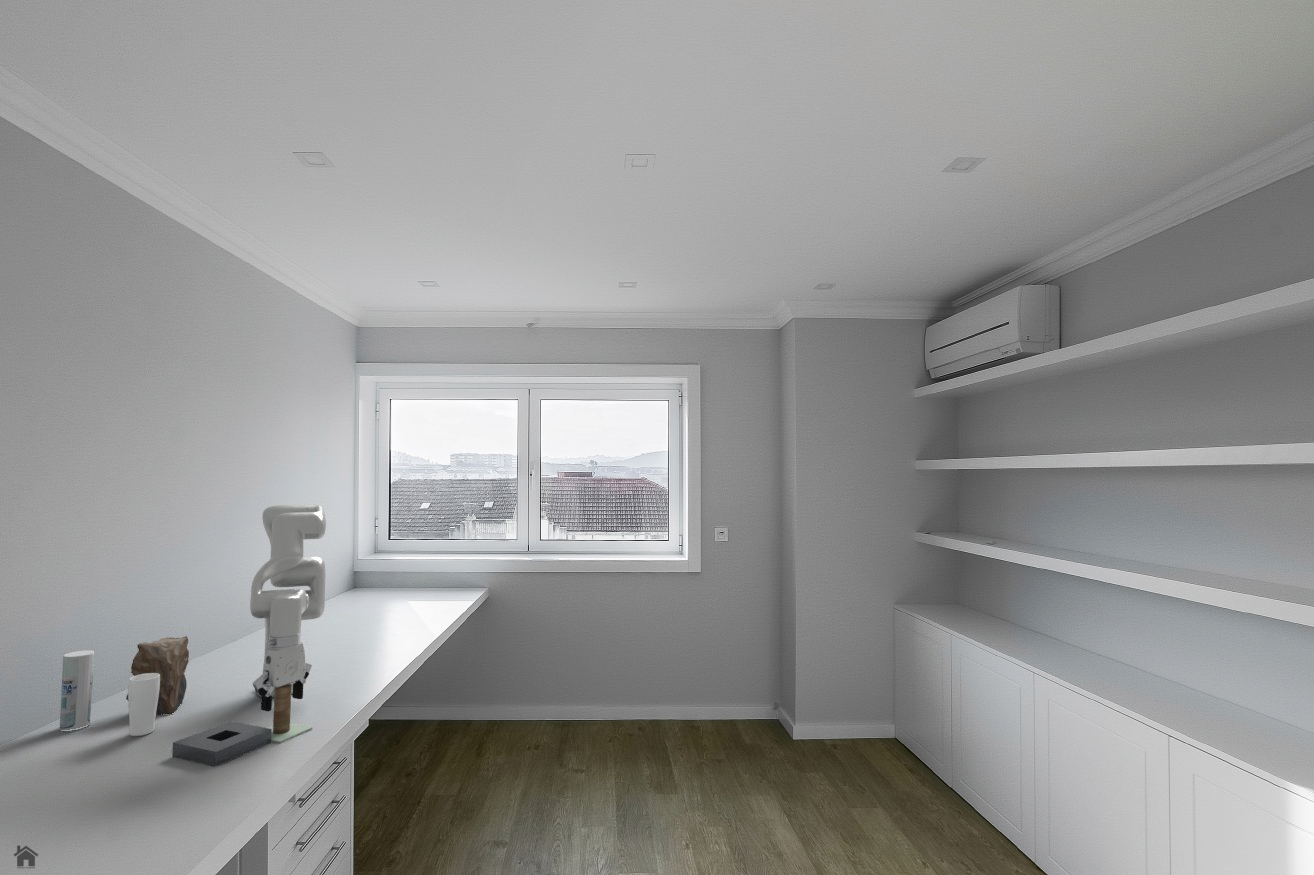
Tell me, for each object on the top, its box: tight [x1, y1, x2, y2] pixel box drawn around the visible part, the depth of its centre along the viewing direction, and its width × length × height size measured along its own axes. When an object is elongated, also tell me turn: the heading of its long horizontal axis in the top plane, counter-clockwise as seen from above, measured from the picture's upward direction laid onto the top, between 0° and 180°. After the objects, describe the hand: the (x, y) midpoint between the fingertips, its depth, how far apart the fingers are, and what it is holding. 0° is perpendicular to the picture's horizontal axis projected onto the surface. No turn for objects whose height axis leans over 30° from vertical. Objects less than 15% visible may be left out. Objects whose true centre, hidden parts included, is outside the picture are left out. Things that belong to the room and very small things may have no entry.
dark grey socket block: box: [171, 720, 272, 768], centre depth 166 cm, size 15×15×4 cm
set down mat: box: [267, 722, 313, 744], centre depth 176 cm, size 11×10×1 cm
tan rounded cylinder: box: [272, 684, 292, 734], centre depth 177 cm, size 4×4×12 cm
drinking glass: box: [127, 673, 160, 737], centre depth 176 cm, size 7×7×15 cm
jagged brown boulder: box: [125, 635, 190, 716], centre depth 194 cm, size 13×13×20 cm
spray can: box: [59, 649, 95, 731], centre depth 179 cm, size 6×6×20 cm
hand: (282, 704), depth 177 cm, fingers open, 9 cm apart
